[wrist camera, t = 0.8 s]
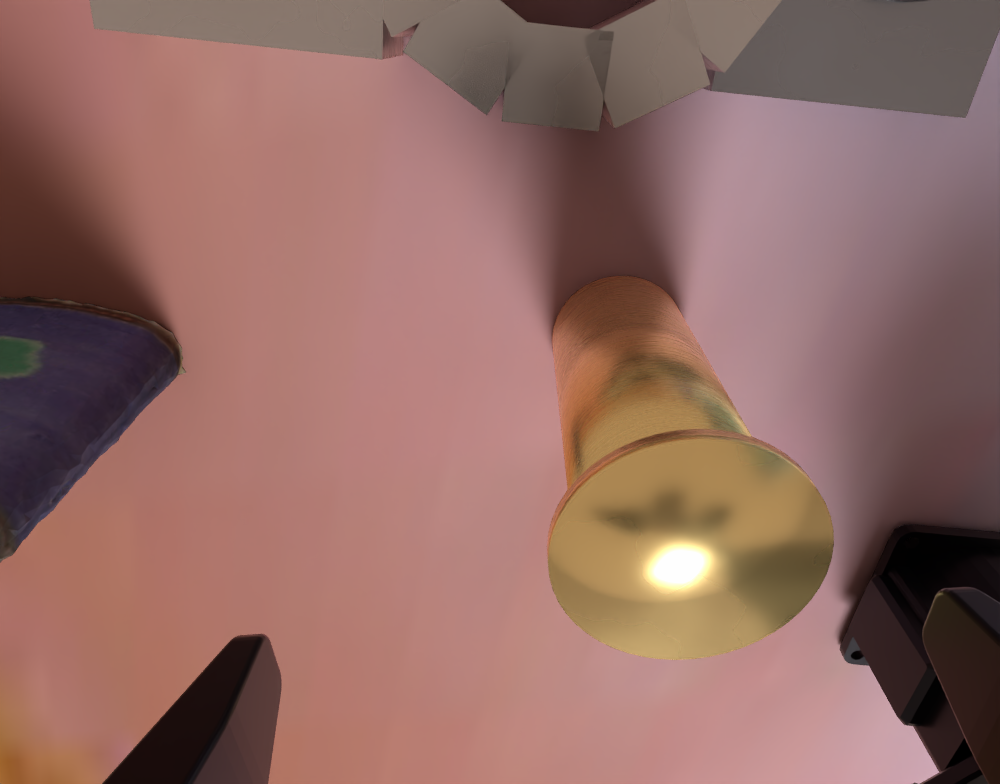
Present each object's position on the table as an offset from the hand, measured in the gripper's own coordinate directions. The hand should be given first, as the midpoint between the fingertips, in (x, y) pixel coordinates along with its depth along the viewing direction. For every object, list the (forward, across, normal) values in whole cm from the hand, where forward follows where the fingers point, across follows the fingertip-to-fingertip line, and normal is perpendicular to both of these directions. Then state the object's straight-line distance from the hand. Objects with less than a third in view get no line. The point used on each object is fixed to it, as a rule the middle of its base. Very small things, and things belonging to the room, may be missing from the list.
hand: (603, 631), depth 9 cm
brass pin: (+13, -3, +2) cm, 13 cm away
